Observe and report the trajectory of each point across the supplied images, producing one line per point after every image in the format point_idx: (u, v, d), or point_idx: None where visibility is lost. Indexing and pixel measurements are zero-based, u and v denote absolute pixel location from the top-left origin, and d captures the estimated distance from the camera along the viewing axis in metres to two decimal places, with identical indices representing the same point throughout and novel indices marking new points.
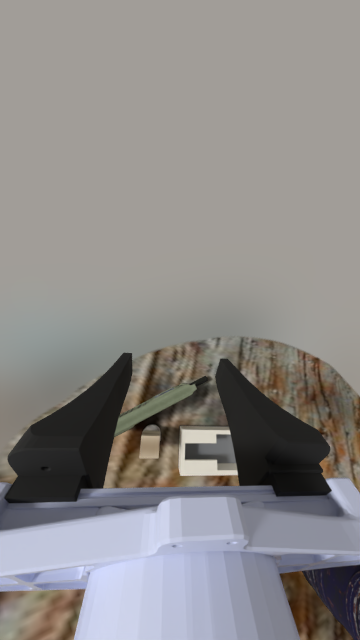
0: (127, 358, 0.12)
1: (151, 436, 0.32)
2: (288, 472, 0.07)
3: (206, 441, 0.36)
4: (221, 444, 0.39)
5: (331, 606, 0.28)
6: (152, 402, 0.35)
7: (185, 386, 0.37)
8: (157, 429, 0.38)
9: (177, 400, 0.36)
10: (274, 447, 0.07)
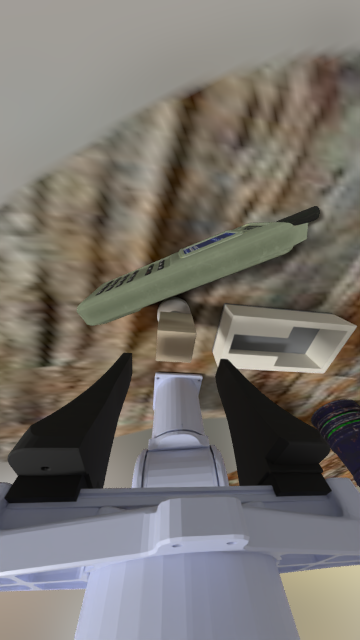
0: (127, 358, 0.12)
1: (178, 332, 0.15)
2: (288, 471, 0.07)
3: (271, 335, 0.20)
4: None
5: (336, 450, 0.30)
6: (181, 265, 0.14)
7: (277, 228, 0.13)
8: (185, 307, 0.21)
9: (245, 265, 0.14)
10: (275, 447, 0.07)
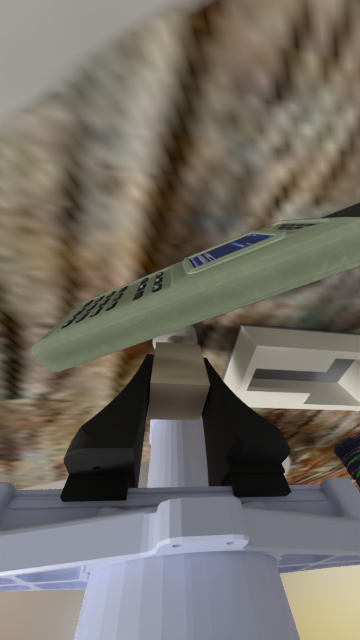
0: (152, 359, 0.12)
1: (182, 384, 0.10)
2: (248, 472, 0.07)
3: (305, 368, 0.15)
4: None
5: None
6: (188, 286, 0.09)
7: (349, 227, 0.08)
8: (189, 331, 0.16)
9: (290, 286, 0.09)
10: (233, 446, 0.07)
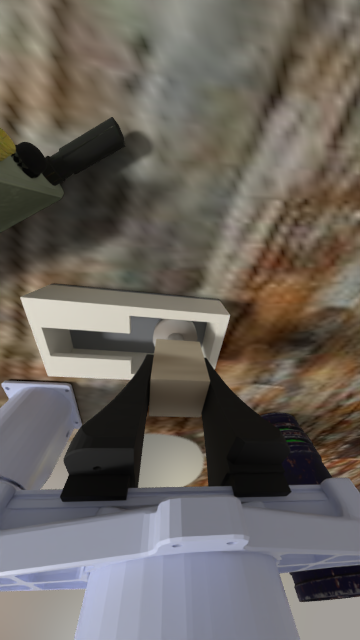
0: (152, 359, 0.12)
1: (182, 380, 0.10)
2: (248, 472, 0.07)
3: (101, 328, 0.14)
4: None
5: None
6: None
7: None
8: (189, 328, 0.16)
9: None
10: (233, 446, 0.07)
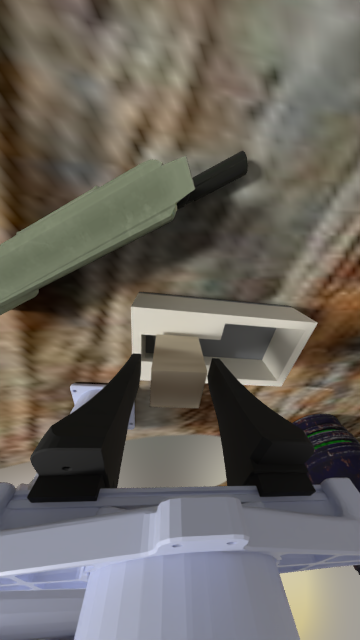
0: (137, 359, 0.12)
1: (181, 371, 0.10)
2: (272, 472, 0.07)
3: (195, 335, 0.14)
4: (229, 332, 0.18)
5: None
6: (2, 248, 0.08)
7: (137, 171, 0.07)
8: None
9: (107, 242, 0.08)
10: (259, 447, 0.07)
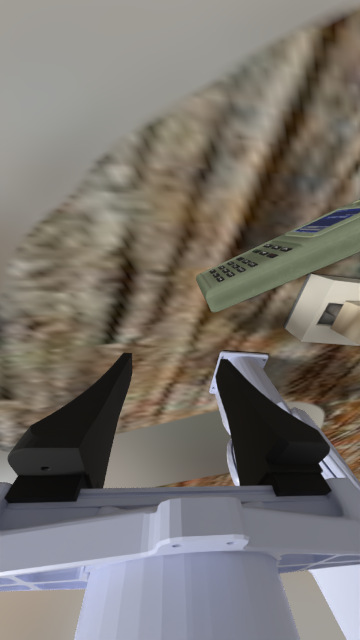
0: (127, 358, 0.12)
1: None
2: (288, 472, 0.07)
3: None
4: None
5: None
6: (319, 243, 0.14)
7: None
8: None
9: None
10: (275, 447, 0.07)
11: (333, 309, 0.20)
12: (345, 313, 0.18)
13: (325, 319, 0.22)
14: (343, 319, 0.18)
